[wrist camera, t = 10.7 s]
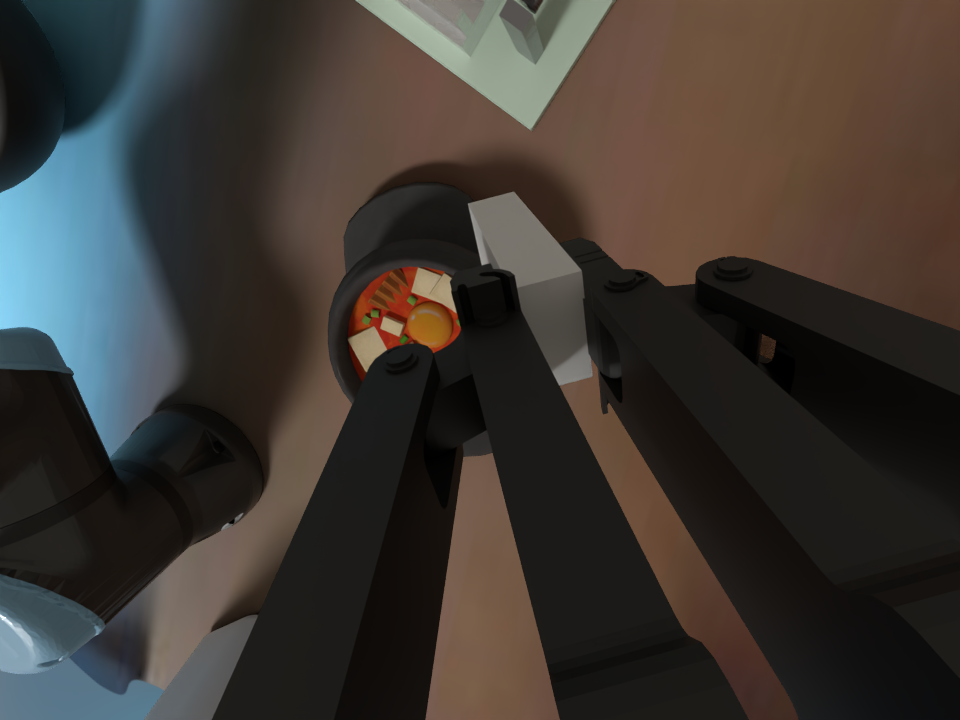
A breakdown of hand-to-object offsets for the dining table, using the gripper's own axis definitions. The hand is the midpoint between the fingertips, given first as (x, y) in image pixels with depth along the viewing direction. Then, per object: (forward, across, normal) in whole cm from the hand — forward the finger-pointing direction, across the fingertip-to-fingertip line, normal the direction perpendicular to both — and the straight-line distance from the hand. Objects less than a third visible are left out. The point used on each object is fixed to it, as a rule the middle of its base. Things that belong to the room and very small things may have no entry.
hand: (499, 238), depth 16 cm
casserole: (+24, -3, -16) cm, 29 cm away
